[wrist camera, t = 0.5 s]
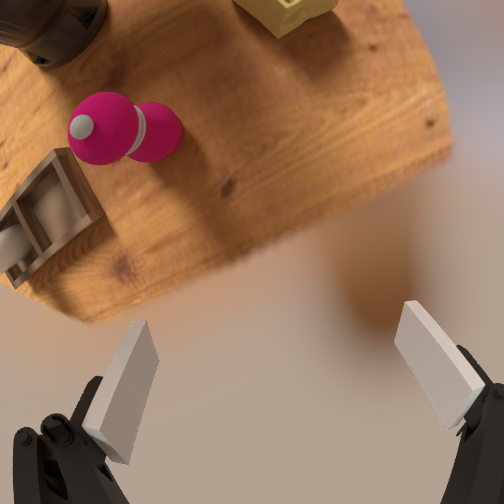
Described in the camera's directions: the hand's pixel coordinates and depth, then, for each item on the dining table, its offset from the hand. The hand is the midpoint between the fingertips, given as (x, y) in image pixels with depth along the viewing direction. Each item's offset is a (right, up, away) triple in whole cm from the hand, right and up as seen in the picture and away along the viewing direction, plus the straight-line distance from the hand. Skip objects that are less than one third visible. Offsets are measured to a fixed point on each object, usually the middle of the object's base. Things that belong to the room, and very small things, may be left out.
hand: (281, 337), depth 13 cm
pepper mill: (-13, +20, +20) cm, 31 cm away
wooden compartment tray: (-36, +9, +23) cm, 44 cm away
